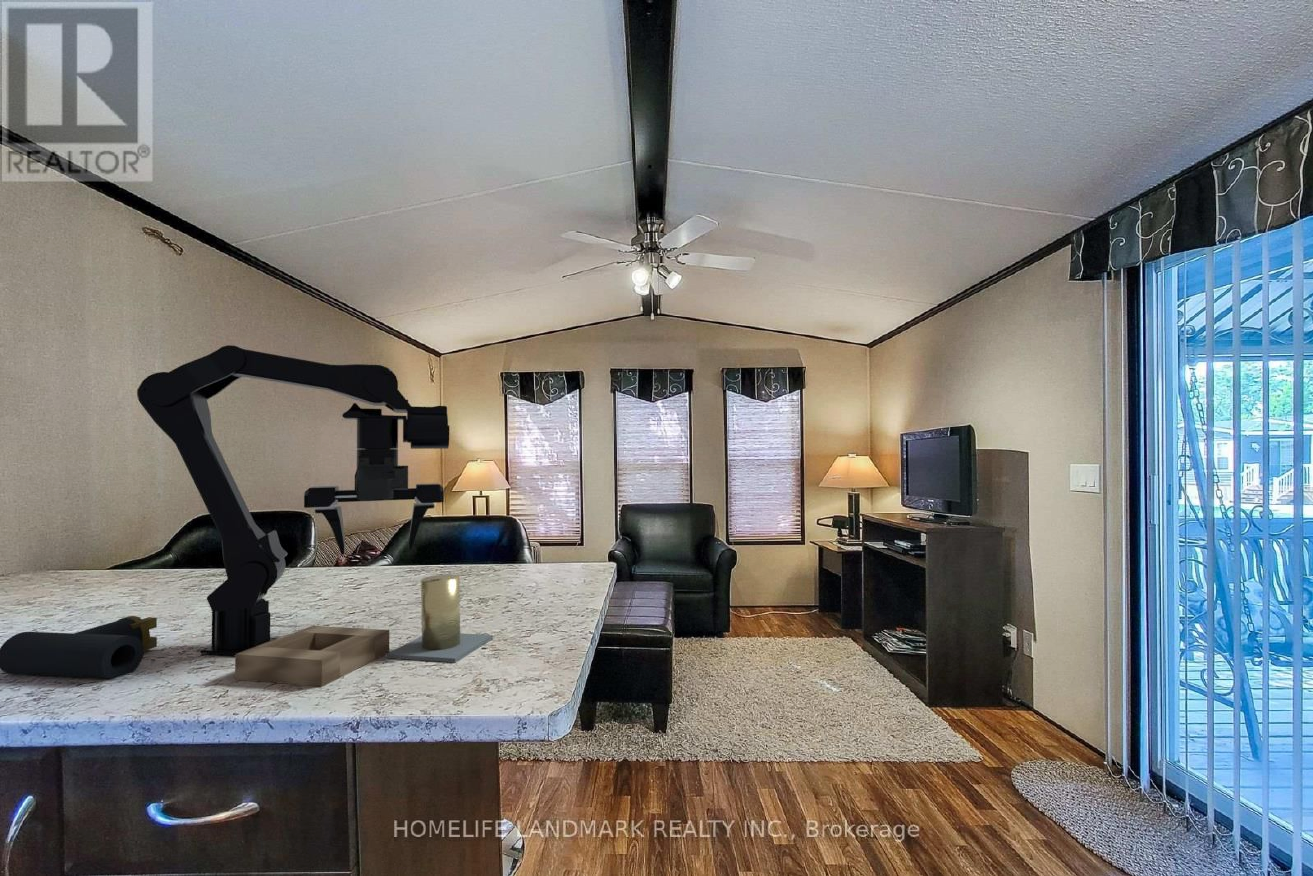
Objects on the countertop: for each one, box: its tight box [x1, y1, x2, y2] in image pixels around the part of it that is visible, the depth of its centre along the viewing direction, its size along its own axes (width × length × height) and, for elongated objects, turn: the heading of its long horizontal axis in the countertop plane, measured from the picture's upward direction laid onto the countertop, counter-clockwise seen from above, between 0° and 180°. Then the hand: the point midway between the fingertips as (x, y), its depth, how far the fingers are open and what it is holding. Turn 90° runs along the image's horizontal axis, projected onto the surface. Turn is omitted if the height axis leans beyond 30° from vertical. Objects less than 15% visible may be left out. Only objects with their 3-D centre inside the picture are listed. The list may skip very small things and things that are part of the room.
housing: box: [234, 625, 390, 687], centre depth 75 cm, size 12×12×3 cm
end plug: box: [420, 574, 461, 650], centre depth 81 cm, size 5×5×9 cm
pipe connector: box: [0, 615, 158, 680], centre depth 77 cm, size 12×5×15 cm
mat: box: [385, 632, 494, 663], centre depth 81 cm, size 10×10×1 cm
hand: (377, 552), depth 89 cm, fingers open, 9 cm apart
